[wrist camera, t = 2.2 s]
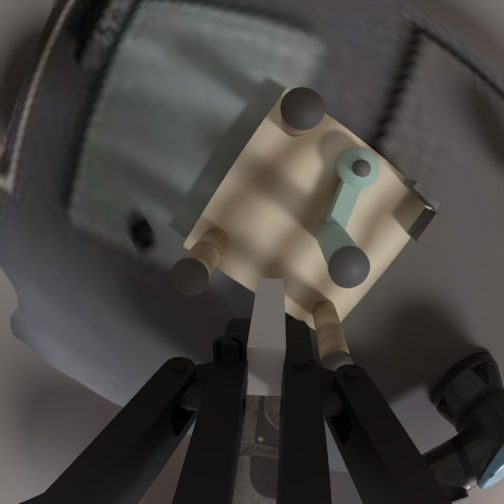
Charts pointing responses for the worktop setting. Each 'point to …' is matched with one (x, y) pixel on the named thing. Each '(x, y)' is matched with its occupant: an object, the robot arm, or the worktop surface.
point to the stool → (301, 218)
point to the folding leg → (346, 221)
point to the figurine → (258, 452)
